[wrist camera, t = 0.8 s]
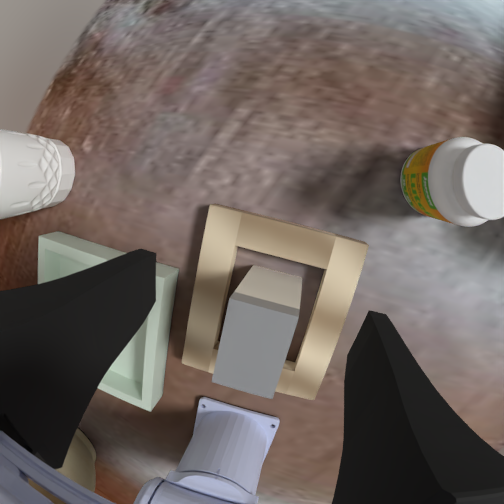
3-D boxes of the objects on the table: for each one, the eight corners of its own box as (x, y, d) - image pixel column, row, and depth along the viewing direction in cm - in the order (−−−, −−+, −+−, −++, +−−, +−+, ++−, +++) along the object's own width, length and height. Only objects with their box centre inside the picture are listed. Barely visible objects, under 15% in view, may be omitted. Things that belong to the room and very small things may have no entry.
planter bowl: (132, 486, 36) (101, 536, 25) (57, 461, 39) (24, 497, 28) (92, 405, 33) (42, 457, 22) (17, 385, 36) (-28, 419, 25)
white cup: (92, 154, 26) (12, 149, 17) (62, 226, 29) (-13, 243, 19) (47, 123, 27) (-26, 114, 17) (22, 188, 29) (-48, 196, 19)
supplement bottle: (385, 174, 23) (430, 168, 13) (432, 134, 21) (493, 111, 12) (424, 229, 23) (483, 255, 14) (469, 189, 22) (540, 194, 12)
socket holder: (313, 390, 27) (313, 400, 26) (187, 355, 29) (181, 363, 27) (365, 242, 24) (368, 245, 23) (215, 203, 25) (209, 204, 24)
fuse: (283, 343, 27) (272, 399, 19) (237, 330, 27) (211, 381, 20) (302, 277, 25) (298, 317, 18) (253, 264, 26) (229, 298, 18)
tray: (162, 395, 30) (150, 411, 27) (58, 347, 32) (42, 358, 29) (179, 268, 27) (164, 278, 24) (58, 231, 29) (38, 235, 26)
